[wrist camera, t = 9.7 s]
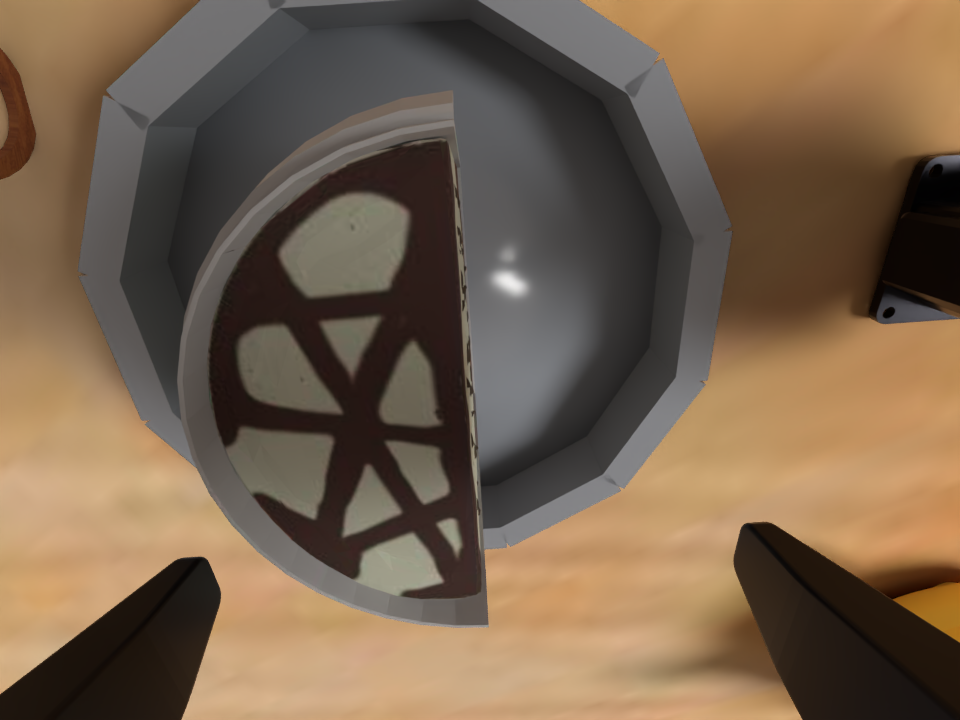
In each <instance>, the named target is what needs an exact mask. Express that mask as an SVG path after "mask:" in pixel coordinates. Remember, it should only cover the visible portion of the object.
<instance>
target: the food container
mask: <svg viewBox="0 0 960 720" xmlns="http://www.w3.org/2000/svg"><path fill="white" fill-rule="evenodd" d="M177 384H178V394H179V404H180V414H181V422H182V425H183V429H184V432H185V436H186V439H187V442H188V446H189V449H190V452H191V456H192V459H193V461H194V463H195V465H196V467H197V469H198V471H199V473H200V475H201V478H202V480H203V482H204V484H205V486H206V488H207V490H208V492H209V494H210V495H211V497H212V498H213V499H214V501H215V502H216V504H217V505H218V506H219V508H220V509H221V511H222V512H223V513H224V515H225V516H226V518H227V519H228V520H229V522H230V523H231V525H232V526H233V527H234V528H235V529H236V530H237V531H238V532H239V533H240V534H241V535H242V536H243V537H244V538H245V539H246V540H247V541H248V542H249V543H250V544H251V545H252V546H253V547H254V548H255V549H256V550H257V552H259V553H260V554H261V555H263V556H264V557H265V558H266V559H268V560H269V561H270V562H272V563H273V564H274V565H275V566H277V567H278V568H279V569H280V570H282V571H283V572H284V573H286V574H287V575H289V576H290V577H292V578H294V579H295V580H297V581H299V582H300V583H302V584H304V585H305V586H307V587H309V588H311V589H312V590H314V591H316V592H317V593H319V594H322V595H324V596H326V597H328V598H331V599H333V600H335V601H338V602H340V603H342V604H344V605H347V606H349V607H351V608H354V609H358V610H361V611H364V612H367V613H371V614H374V615H377V616H380V617H383V618H387V619H393V620H398V621H403V622H408V623H413V624H418V625H428V626H441V627H453V628H471V627H489V625H488V605H487V587H486V569H485V554H484V537H483V519H482V502H481V484H480V467H479V449H478V432H477V414H476V397H475V381H474V366H473V351H472V336H471V321H470V306H469V291H468V276H467V261H466V246H465V231H464V216H463V201H462V186H461V171H460V158H459V151H458V145H457V138H456V131H455V124H454V108H453V90H449V91H443V92H437V93H431V94H425V95H419V96H413V97H407V98H401V99H398V100H396V101H393V102H390V103H387V104H384V105H381V106H378V107H375V108H372V109H370V110H367V111H364V112H361V113H358V114H355V115H352V116H350V117H348V118H347V119H345V120H343V121H341V122H340V123H338V124H336V125H334V126H332V127H331V128H329V129H327V130H325V131H324V132H322V133H320V134H318V135H317V136H315V137H313V138H311V139H309V140H308V141H306V142H305V143H304V144H303V145H301V146H300V147H299V148H298V149H297V150H295V151H294V152H293V153H292V154H291V155H289V156H288V157H287V158H286V159H285V160H283V161H282V162H281V163H280V164H279V165H278V166H276V167H275V168H274V169H273V170H272V171H270V172H269V173H268V174H267V175H266V176H265V178H264V179H263V180H262V181H261V182H260V183H259V184H258V185H257V187H256V188H255V189H254V190H253V191H252V192H251V194H250V195H249V196H248V197H247V198H246V200H245V201H244V202H243V203H242V205H241V206H240V207H239V208H238V209H237V211H236V212H235V213H234V214H233V216H232V217H231V218H230V219H229V220H228V222H227V223H226V224H225V225H224V227H223V228H222V229H221V230H220V232H219V233H218V235H217V237H216V239H215V241H214V243H213V245H212V247H211V248H210V250H209V252H208V254H207V256H206V258H205V260H204V262H203V263H202V265H201V267H200V269H199V271H198V273H197V276H196V279H195V282H194V286H193V289H192V292H191V295H190V299H189V302H188V305H187V309H186V312H185V315H184V321H183V332H182V335H181V343H180V354H179V365H178V376H177Z"/></svg>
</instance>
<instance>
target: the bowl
mask: <svg viewBox="0 0 960 720" xmlns="http://www.w3.org/2000/svg"><path fill="white" fill-rule="evenodd" d="M659 54H660V53H658V52H657V51H655V50H654V49H652V48H651V47H649V46H648V45H646V44H645V43H643V42H642V41H640V40H639V39H637V38H635V37H634V36H632V35H631V34H629V33H628V32H626V31H625V30H623V29H622V28H620V27H619V26H617V25H616V24H614V23H613V22H611V21H610V20H608V19H607V18H605V17H604V16H602V15H601V14H599V13H598V12H596V11H595V10H593V9H592V8H590V7H588V6H587V5H585V4H584V3H582V2H581V1H579V0H200V1H199V2H198V3H197V4H196V5H195V6H194V7H193V8H192V9H191V10H190V11H189V12H188V13H187V14H186V15H185V16H183V17H182V18H181V19H180V20H179V21H178V22H177V23H176V24H175V25H174V26H173V27H172V28H171V29H170V30H169V31H168V32H167V33H166V34H164V35H163V36H162V37H161V38H160V39H159V40H158V41H157V42H156V43H155V44H154V45H153V46H152V47H151V48H150V49H149V50H148V51H147V52H146V53H144V54H143V55H142V56H141V57H140V58H139V59H138V60H137V61H136V62H135V63H134V64H133V65H132V66H131V67H130V68H129V69H128V70H127V71H125V72H124V73H123V74H122V75H121V76H120V77H119V78H118V79H117V80H116V81H115V82H114V83H113V84H112V85H111V86H110V87H109V88H108V89H106V91H107V92H108V93H109V94H110V95H111V96H104V95H103V100H102V107H101V114H100V121H99V128H98V135H97V141H96V148H95V155H94V162H93V169H92V176H91V183H90V189H89V196H88V203H87V210H86V217H85V224H84V230H83V237H82V244H81V251H80V258H79V265H78V272H81V273H83V275H81V276H78V277H79V279H80V281H81V283H82V286H83V288H84V290H85V293H86V295H87V297H88V299H89V302H90V304H91V306H92V308H93V311H94V313H95V315H96V318H97V320H98V322H99V324H100V327H101V329H102V331H103V333H104V336H105V338H106V340H107V343H108V345H109V347H110V349H111V352H112V354H113V356H114V359H115V361H116V363H117V365H118V368H119V370H120V372H121V374H122V377H123V379H124V381H125V384H126V386H127V388H128V390H129V393H130V395H131V397H132V399H133V402H134V404H135V406H136V409H137V411H138V413H139V415H140V418H141V420H142V421H145V420H149V421H148V422H147V423H146V424H145V425H146V426H147V427H148V428H150V429H151V430H152V431H153V432H154V433H155V434H157V435H158V436H159V437H160V438H161V439H163V440H164V441H165V442H166V443H167V444H169V445H170V446H171V447H172V448H173V449H174V450H176V451H177V452H178V453H179V454H180V455H182V456H183V457H184V458H185V459H186V460H187V461H189V462H190V463H191V464H192V465H193V466H195V467H196V465H195V463H194V461H193V459H192V456H191V452H190V449H189V446H188V442H187V439H186V436H185V432H184V429H183V425H182V422H181V414H180V404H179V394H178V384H177V376H178V365H179V354H180V343H181V335H182V332H183V321H184V315H185V312H186V309H187V305H188V302H189V299H190V295H191V292H192V289H193V286H194V282H195V279H196V276H197V273H198V271H199V269H200V267H201V265H202V263H203V262H204V260H205V258H206V256H207V254H208V252H209V250H210V248H211V247H212V245H213V243H214V241H215V239H216V237H217V235H218V233H219V232H220V230H221V229H222V228H223V227H224V225H225V224H226V223H227V222H228V220H229V219H230V218H231V217H232V216H233V214H234V213H235V212H236V211H237V209H238V208H239V207H240V206H241V205H242V203H243V202H244V201H245V200H246V198H247V197H248V196H249V195H250V194H251V192H252V191H253V190H254V189H255V188H256V187H257V185H258V184H259V183H260V182H261V181H262V180H263V179H264V178H265V176H266V175H267V174H268V173H269V172H270V171H272V170H273V169H274V168H275V167H276V166H278V165H279V164H280V163H281V162H282V161H283V160H285V159H286V158H287V157H288V156H289V155H291V154H292V153H293V152H294V151H295V150H297V149H298V148H299V147H300V146H301V145H303V144H304V143H305V142H306V141H308V140H309V139H311V138H313V137H315V136H317V135H318V134H320V133H322V132H324V131H325V130H327V129H329V128H331V127H332V126H334V125H336V124H338V123H340V122H341V121H343V120H345V119H347V118H348V117H350V116H352V115H355V114H358V113H361V112H364V111H367V110H370V109H372V108H375V107H378V106H381V105H384V104H387V103H390V102H393V101H396V100H398V99H401V98H407V97H413V96H419V95H425V94H431V93H437V92H443V91H449V90H453V108H454V124H455V131H456V138H457V145H458V151H459V158H460V171H461V186H462V201H463V216H464V231H465V246H466V261H467V276H468V291H469V306H470V321H471V336H472V351H473V366H474V381H475V397H476V414H477V432H478V449H479V467H480V484H481V502H482V519H483V537H484V549H498V548H507V544H508V545H509V546H510V547H511V546H513V545H515V544H517V543H519V542H521V541H523V540H525V539H527V538H529V537H531V536H533V535H535V534H537V533H539V532H541V531H543V530H545V529H547V528H549V527H551V526H553V525H555V524H557V523H559V522H561V521H563V520H565V519H567V518H568V517H570V516H572V515H574V514H576V513H578V512H580V511H582V510H584V509H586V508H588V507H590V506H592V505H594V504H596V503H598V502H600V501H602V500H604V499H606V498H608V497H610V496H612V495H614V494H616V493H618V492H620V491H621V490H620V488H619V487H621V488H625V487H626V485H627V484H628V483H629V482H630V480H631V479H632V478H633V476H634V475H635V474H636V473H637V471H638V470H639V469H640V468H641V466H642V465H643V464H644V462H645V461H646V460H647V459H648V457H649V456H650V455H651V454H652V452H653V451H654V450H655V448H656V447H657V446H658V445H659V443H660V442H661V441H662V439H663V438H664V437H665V436H666V434H667V433H668V432H669V431H670V429H671V428H672V427H673V425H674V424H675V423H676V422H677V420H678V419H679V418H680V417H681V415H682V414H683V413H684V411H685V410H686V409H687V408H688V406H689V405H690V404H691V403H692V401H693V400H694V399H695V397H696V396H697V395H698V394H699V392H700V391H701V390H702V388H703V387H704V386H705V385H706V384H705V383H704V382H703V381H707V380H708V375H709V369H710V363H711V357H712V351H713V345H714V339H715V333H716V327H717V321H718V315H719V309H720V303H721V297H722V291H723V286H724V280H725V274H726V268H727V262H728V256H729V250H730V244H731V238H732V232H733V231H731V230H728V228H730V227H731V226H732V224H731V222H730V220H729V217H728V215H727V212H726V210H725V207H724V205H723V202H722V200H721V198H720V195H719V193H718V190H717V188H716V185H715V183H714V180H713V178H712V176H711V173H710V171H709V168H708V166H707V163H706V161H705V159H704V156H703V154H702V151H701V149H700V146H699V144H698V141H697V139H696V137H695V134H694V132H693V129H692V127H691V124H690V122H689V119H688V117H687V115H686V112H685V110H684V107H683V105H682V102H681V100H680V97H679V95H678V93H677V90H676V88H675V85H674V83H673V80H672V78H671V75H670V73H669V71H668V68H667V66H666V63H665V61H664V58H663V59H660V60H658V61H656V59H657V57H658V55H659ZM196 468H197V467H196Z"/></svg>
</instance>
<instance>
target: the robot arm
mask: <svg viewBox="0 0 960 720" xmlns="http://www.w3.org/2000/svg"><path fill="white" fill-rule="evenodd" d="M933 166H934V167H933ZM932 167H933V171H932V173H931V174H930V175H929V171H930V169H931V168H932ZM885 309H887V310H886V312H885V313H884V314H883V312H884V310H885ZM869 316H870V318H871V319H873V320H874V321H877V322H879V323H882V324H892V323H906V322H920V321H934V320H948V319H960V154H951V155H937V156H929V157H925V158H924V159H922V160H921V161H920V162H919V163H918V164H917V165H916V166H915V168H914V170H913V173H912V176H911V180H910V183H909V186H908V189H907V192H906V195H905V199H904V202H903V205H902V208H901V211H900V215H899V218H898V221H897V224H896V227H895V231H894V234H893V237H892V240H891V243H890V246H889V250H888V253H887V256H886V259H885V262H884V266H883V269H882V272H881V275H880V278H879V282H878V285H877V288H876V291H875V294H874V297H873V301H872V304H871V307H870V310H869ZM734 568H735V572H736V574H737V577H738V579H739V582H740V584H741V586H742V589H743V591H744V594H745V596H746V599H747V601H748V603H749V606H750V608H751V611H752V613H753V615H754V618H755V620H756V623H757V625H758V628H759V630H760V632H761V635H762V637H763V640H764V642H765V644H766V647H767V649H768V652H769V654H770V656H771V658H772V661H773V663H774V665H775V667H776V669H777V671H778V673H779V675H780V677H781V679H782V681H783V683H784V685H785V687H786V689H787V691H788V693H789V695H790V697H791V699H792V701H793V702H794V704H795V706H796V708H797V710H798V712H799V714H800V716H801V718H802V720H960V642H958V641H957V640H955V639H954V638H952V637H950V636H949V635H947V634H946V633H944V632H943V631H941V630H939V629H938V628H936V627H935V626H933V625H931V624H930V623H928V622H927V621H925V620H924V619H922V618H920V617H919V616H917V615H916V614H914V613H913V612H911V611H909V610H908V609H906V608H905V607H903V606H902V605H900V604H898V603H897V602H895V601H894V600H892V599H891V598H889V597H887V596H886V595H884V594H883V593H881V592H880V591H878V590H876V589H875V588H873V587H872V586H870V585H869V584H867V583H865V582H864V581H862V580H861V579H859V578H858V577H856V576H854V575H853V574H851V573H850V572H848V571H847V570H845V569H843V568H842V567H840V566H839V565H837V564H836V563H834V562H832V561H831V560H829V559H828V558H826V557H825V556H823V555H821V554H820V553H818V552H817V551H815V550H814V549H812V548H810V547H809V546H807V545H806V544H804V543H803V542H801V541H799V540H798V539H796V538H795V537H793V536H792V535H790V534H788V533H787V532H785V531H784V530H782V529H780V528H779V527H777V526H776V525H774V524H772V523H769V522H754V523H746V524H744V525H743V526H742V527H741V530H740V534H739V538H738V542H737V546H736V550H735V554H734ZM220 600H221V591H220V587H219V585H218V583H217V580H216V578H215V576H214V573H213V571H212V568H211V566H210V564H209V562H208V560H207V559H205V558H204V557H187V558H180V559H177V560H175V561H174V562H172V563H171V564H170V565H169V566H167V567H166V568H165V569H163V570H162V571H161V572H159V573H158V574H157V575H155V576H154V577H153V578H152V579H150V580H149V581H148V582H146V583H145V584H144V585H142V586H141V587H140V588H138V589H137V590H136V591H135V592H133V593H132V594H131V595H129V596H128V597H127V598H125V599H124V600H123V601H121V602H120V603H119V604H118V605H116V606H115V607H114V608H112V609H111V610H110V611H108V612H107V613H106V614H104V615H103V616H102V617H101V618H99V619H98V620H97V621H95V622H94V623H93V624H91V625H90V626H89V627H88V628H86V629H85V630H84V631H82V632H81V633H80V634H78V635H77V636H76V637H74V638H73V639H72V640H71V641H69V642H68V643H67V644H65V645H64V646H63V647H61V648H60V649H59V650H57V651H56V652H55V653H54V654H52V655H51V656H50V657H48V658H47V659H46V660H44V661H43V662H42V663H40V664H39V665H38V666H37V667H35V668H34V669H33V670H31V671H30V672H29V673H27V674H26V675H25V676H23V677H22V678H21V679H20V680H18V681H17V682H16V683H14V684H13V685H12V686H10V687H9V688H8V689H6V690H5V691H4V692H3V693H1V694H0V720H181V719H182V717H183V714H184V712H185V709H186V707H187V704H188V701H189V698H190V695H191V693H192V690H193V687H194V684H195V681H196V677H197V674H198V671H199V668H200V665H201V662H202V659H203V656H204V652H205V649H206V646H207V643H208V640H209V637H210V634H211V631H212V627H213V624H214V621H215V618H216V615H217V612H218V609H219V605H220Z"/></svg>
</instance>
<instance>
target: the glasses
mask: <svg viewBox="0 0 960 720" xmlns="http://www.w3.org/2000/svg"><path fill="white" fill-rule="evenodd" d="M0 89H1V91H2V94H3V96H4V99H5V102H6V105H7V110H8V115H9V132H8V138H7V140H6V142H5V144H4V146H3V148H2V149H1V150H0V179H3V178H6V177H9V176H11V175H12V174H14V173H15V172H17V171H19V170H20V169H21V168H22V167H23V166H24V165H25V164H26V163H27V161H28V160H29V158H30V156H31V154H32V151H33V149H34V144H35V137H36V132H35V128H34V125H33V121H32V118H31V114H30V110H29V107H28V103H27V100H26V96H25V92H24V89H23V85H22V82H21V78H20V75H19V73H18V71H17V70H16V68H15V67H14V65H13V64H12V62H11V61H10V59H9V58H8V57H7V55H6V54H5V53H4V52H3V51H2V50H1V49H0Z"/></svg>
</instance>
